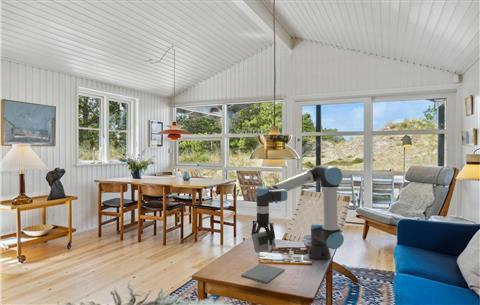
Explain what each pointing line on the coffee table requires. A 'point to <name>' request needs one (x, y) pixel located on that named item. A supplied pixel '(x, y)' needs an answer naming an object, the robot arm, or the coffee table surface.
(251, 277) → the mat
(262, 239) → the digital clock
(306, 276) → the coffee table surface
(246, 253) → the coffee table surface
